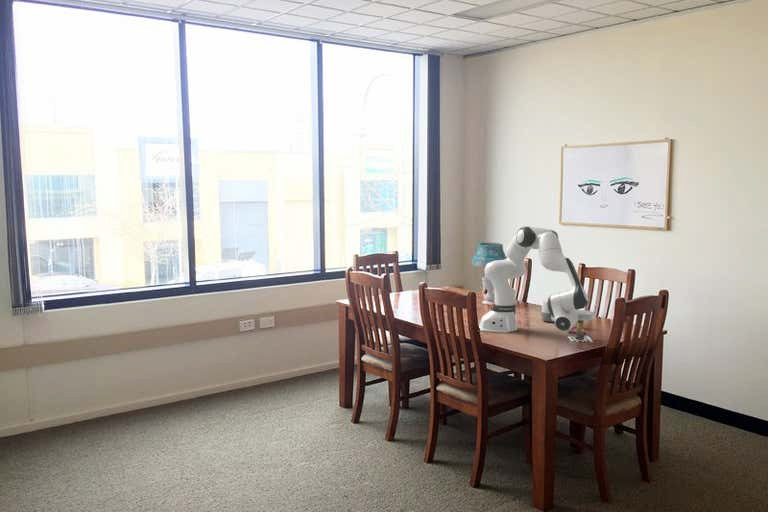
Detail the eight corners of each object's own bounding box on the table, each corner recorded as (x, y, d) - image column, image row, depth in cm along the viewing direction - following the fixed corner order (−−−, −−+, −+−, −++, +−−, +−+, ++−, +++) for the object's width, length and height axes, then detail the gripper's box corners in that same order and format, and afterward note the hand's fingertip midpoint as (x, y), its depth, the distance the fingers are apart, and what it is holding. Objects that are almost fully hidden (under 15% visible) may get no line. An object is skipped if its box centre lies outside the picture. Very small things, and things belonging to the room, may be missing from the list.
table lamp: (466, 300, 433) (467, 242, 427) (500, 299, 437) (501, 241, 432) (478, 308, 409) (479, 246, 404) (513, 306, 414) (514, 245, 408)
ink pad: (569, 334, 342) (569, 331, 342) (566, 330, 349) (566, 328, 349) (586, 334, 341) (586, 331, 341) (583, 331, 348) (583, 328, 348)
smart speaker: (537, 320, 374) (538, 297, 372) (550, 318, 378) (550, 295, 376) (548, 323, 366) (549, 299, 364) (561, 322, 370) (561, 298, 368)
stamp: (576, 339, 330) (577, 317, 328) (574, 337, 334) (575, 315, 332) (584, 339, 329) (585, 317, 328) (583, 337, 334) (583, 315, 332)
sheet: (571, 341, 327) (571, 340, 327) (567, 336, 337) (567, 335, 337) (592, 341, 326) (592, 341, 326) (588, 336, 336) (588, 336, 336)
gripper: (592, 312, 303) (596, 306, 315) (549, 307, 312) (555, 301, 324) (591, 325, 304) (596, 319, 316) (548, 320, 313) (554, 313, 325)
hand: (575, 310), depth 320 cm, fingers open, 8 cm apart
